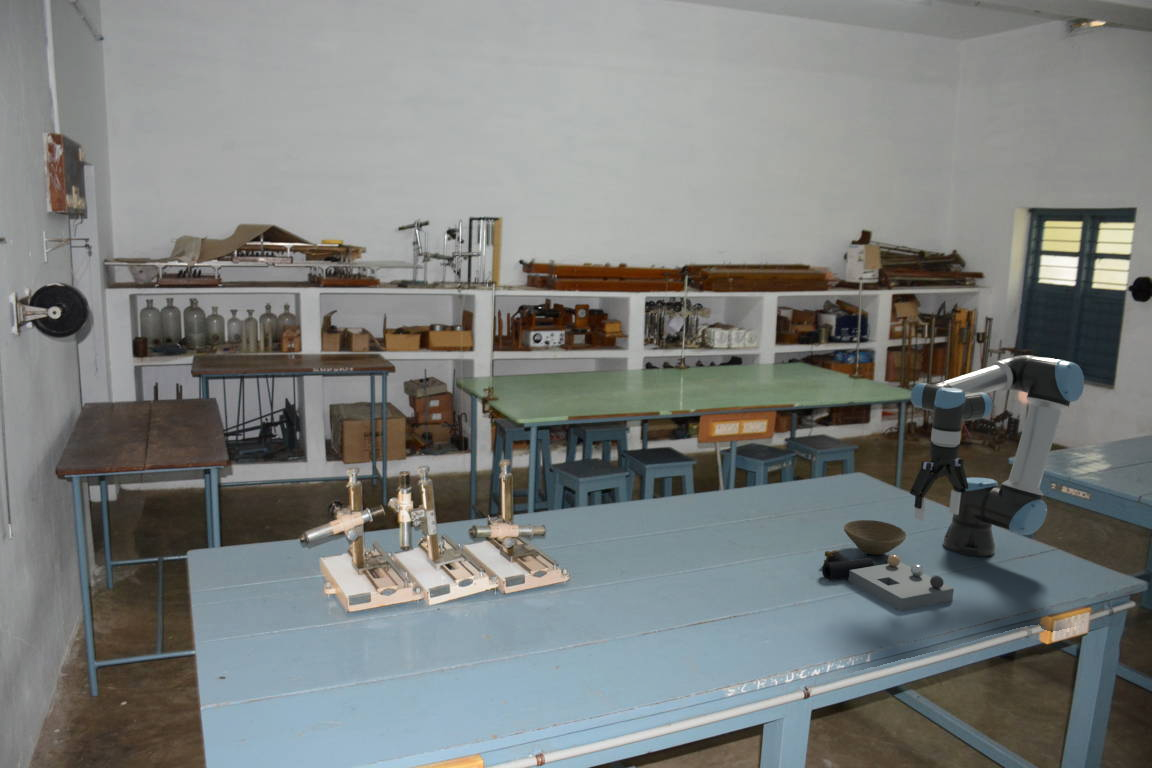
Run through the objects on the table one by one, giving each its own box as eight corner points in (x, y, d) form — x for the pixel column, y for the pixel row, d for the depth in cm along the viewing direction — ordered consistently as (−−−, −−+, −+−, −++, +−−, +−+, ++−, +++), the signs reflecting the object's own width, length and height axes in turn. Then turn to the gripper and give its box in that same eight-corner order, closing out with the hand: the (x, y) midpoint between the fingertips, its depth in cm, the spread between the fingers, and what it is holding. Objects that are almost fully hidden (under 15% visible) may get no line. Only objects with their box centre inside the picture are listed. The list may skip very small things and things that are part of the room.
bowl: (838, 557, 264) (841, 533, 263) (844, 538, 281) (846, 515, 280) (902, 568, 258) (905, 543, 256) (904, 548, 275) (907, 524, 273)
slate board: (898, 572, 254) (899, 561, 254) (952, 600, 237) (953, 588, 236) (848, 581, 247) (849, 570, 246) (900, 610, 229) (901, 598, 228)
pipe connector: (809, 551, 255) (851, 546, 260) (808, 567, 256) (849, 562, 261) (833, 566, 245) (876, 561, 250) (831, 583, 246) (874, 578, 251)
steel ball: (916, 573, 246) (917, 562, 245) (925, 577, 243) (927, 566, 242) (907, 574, 244) (908, 563, 244) (916, 579, 241) (918, 568, 241)
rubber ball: (935, 584, 238) (937, 573, 237) (945, 589, 235) (947, 577, 234) (926, 586, 237) (928, 574, 236) (936, 591, 234) (937, 579, 233)
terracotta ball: (893, 563, 252) (894, 552, 252) (901, 567, 249) (903, 556, 249) (884, 564, 251) (885, 553, 250) (892, 569, 248) (894, 558, 247)
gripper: (965, 436, 248) (957, 506, 252) (901, 444, 237) (893, 517, 241) (987, 443, 241) (978, 515, 245) (922, 450, 230) (914, 525, 234)
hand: (936, 516), depth 243 cm, fingers open, 13 cm apart
